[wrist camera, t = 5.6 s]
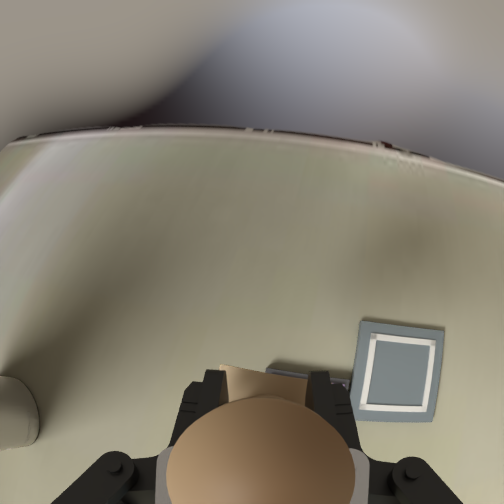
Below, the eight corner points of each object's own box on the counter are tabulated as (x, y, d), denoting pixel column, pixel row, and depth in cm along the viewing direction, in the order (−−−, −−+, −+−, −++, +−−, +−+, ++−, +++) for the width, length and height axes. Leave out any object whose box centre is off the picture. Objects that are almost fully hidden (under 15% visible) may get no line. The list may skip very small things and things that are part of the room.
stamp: (208, 452, 14) (134, 537, 5) (227, 365, 16) (166, 353, 6) (303, 469, 13) (343, 573, 4) (323, 381, 15) (398, 390, 6)
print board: (343, 418, 27) (345, 419, 26) (359, 321, 30) (362, 320, 29) (429, 421, 26) (433, 422, 25) (441, 331, 29) (445, 330, 28)
